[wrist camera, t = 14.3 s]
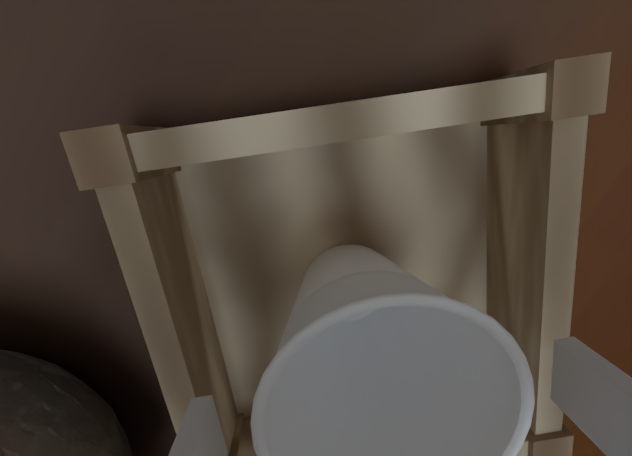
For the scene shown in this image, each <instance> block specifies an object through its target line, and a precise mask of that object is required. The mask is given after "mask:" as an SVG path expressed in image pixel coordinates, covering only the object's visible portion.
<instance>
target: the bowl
mask: <svg viewBox="0 0 632 456" xmlns="http://www.w3.org/2000/svg"><path fill="white" fill-rule="evenodd" d="M0 456H133V454H132V451H131V447H130V444H129V440H128V438H127V436H126V434H125V431H124V429H123V428H122V426H121V424H120V422H119V420H118V419H117V417H116V415H115V413H114V410H113V409H112V408H111V407H110V406H109V404H108V403H107V402H106V401H105V400H104V399H103V398H102V397H101V396H100V395H99V394H97V393H96V392H95V391H94V390H93V389H91V388H90V387H89V386H88V385H87V384H85V383H84V382H83V381H81V380H80V379H79V378H77V377H76V376H74V375H73V374H71V373H70V372H68V371H66V370H65V369H63V368H61V367H59V366H58V365H56V364H53V363H50V362H48V361H45V360H42V359H39V358H36V357H33V356H30V355H27V354H24V353H20V352H14V351H7V350H0Z"/></svg>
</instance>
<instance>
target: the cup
mask: <svg viewBox="0 0 632 456" xmlns="http://www.w3.org/2000/svg"><path fill="white" fill-rule="evenodd" d="M534 405H535V398H534V381H533V377H532V374H531V371H530V368H529V365H528V362H527V359H526V356H525V355H524V353H523V352H522V350H521V348H520V347H519V345H518V344H517V342H516V341H515V339H514V337H513V336H512V335H511V334H510V333H509V332H508V331H507V330H506V329H505V328H504V327H503V326H501V325H500V324H499V323H498V322H497V321H496V320H495V319H494V318H493V317H491V316H489V315H487V314H486V313H484V312H482V311H481V310H479V309H477V308H475V307H474V306H472V305H470V304H467V303H464V302H461V301H458V300H455V299H452V298H449V297H447V296H446V295H444V294H442V293H441V292H439V291H438V290H436V289H435V288H433V287H431V286H430V285H428V284H426V283H425V282H423V281H422V280H420V279H418V278H417V277H415V276H414V275H412V274H411V273H409V272H408V271H406V270H404V269H403V268H401V267H400V266H398V265H397V264H395V263H393V262H392V261H390V260H389V259H387V258H386V257H384V256H382V255H381V254H379V253H378V252H376V251H374V250H373V249H371V248H368V247H365V246H362V245H354V244H350V245H341V246H337V247H333V248H331V249H329V250H327V251H325V252H323V253H322V254H321V255H319V256H318V257H317V258H316V259H315V260H314V261H313V262H312V263H311V264H310V266H309V267H308V269H307V271H306V273H305V276H304V278H303V281H302V284H301V286H300V289H299V292H298V295H297V298H296V301H295V304H294V306H293V309H292V312H291V315H290V318H289V320H288V323H287V326H286V329H285V331H284V334H283V336H282V339H281V342H280V345H279V347H278V350H277V353H276V355H275V356H274V358H273V359H272V361H271V362H270V364H269V365H268V367H267V368H266V370H265V371H264V373H263V375H262V377H261V380H260V382H259V385H258V388H257V390H256V393H255V395H254V398H253V406H252V414H251V421H250V424H251V433H252V441H253V447H254V450H255V452H256V455H257V456H516V455H517V454H518V452H519V451H520V449H521V448H522V446H523V443H524V441H525V438H526V436H527V434H528V431H529V429H530V426H531V422H532V416H533V410H534Z"/></svg>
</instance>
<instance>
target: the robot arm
mask: <svg viewBox="0 0 632 456" xmlns="http://www.w3.org/2000/svg"><path fill="white" fill-rule="evenodd" d="M550 399H551V400H552V401H553V402H554V403H555V404H556V405H557V406H558V407H559V408H560V409H561V410H562V411H563V412H564V413H565V414H566V415H567V416H568V417H569V418H570V419H571V420H572V421H573V422H574V423H575V424H576V425H577V426H578V427H579V428H580V429H581V430H582V431H583V432H584V433H585V434H586V435H587V436H588V437H589V438H590V439H591V441H592V442H593V443H594V444H595V445H596V446H597V447H598V448H599V449H600V450H601V451H602V452H603V453H604V454H605V455H606V456H632V378H631V377H630V376H628V375H627V374H626V373H624V372H623V371H621V370H620V369H619V368H617V367H616V366H614V365H613V364H612V363H610V362H609V361H607V360H606V359H605V358H603V357H602V356H600V355H599V354H597V353H596V352H595V351H593V350H592V349H590V348H589V347H588V346H586V345H585V344H583V343H582V342H581V341H579V340H578V339H576V338H575V337H568V338H562V339H556V340H554V349H553V364H552V379H551V394H550ZM227 453H228V450H227V446H226V443H225V439H224V436H223V432H222V429H221V425H220V421H219V418H218V414H217V411H216V407H215V404H214V400H213V396H212V395H208V396H202V397H196V398H192V399H191V401H190V404H189V406H188V408H187V411H186V413H185V416H184V418H183V421H182V423H181V426H180V428H179V431H178V433H177V435H176V438H175V440H174V443H173V445H172V448H171V450H170V453H169V455H168V456H227Z"/></svg>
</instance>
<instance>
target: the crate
mask: <svg viewBox="0 0 632 456" xmlns="http://www.w3.org/2000/svg"><path fill="white" fill-rule="evenodd" d="M610 61H611V52H607V53H600V54H593V55H586V56H579V57H572V58H566V59H559V60H553V61H550V62H547V63H544V64H540V65H537V66H534V67H530V68H527V69H524V70H521V71H517V72H514V73H511V74H508V75H504V76H501V77H498V78H495V79H491V80H488V81H485V82H479V83H472V84H465V85H459V86H452V87H445V88H438V89H431V90H424V91H418V92H411V93H404V94H397V95H390V96H383V97H377V98H370V99H363V100H356V101H349V102H342V103H336V104H329V105H322V106H315V107H308V108H302V109H295V110H288V111H281V112H274V113H267V114H261V115H254V116H247V117H240V118H233V119H226V120H220V121H213V122H206V123H199V124H192V125H186V126H179V127H172V128H163V127H151V126H139V125H127V124H114V125H107V126H100V127H93V128H86V129H79V130H72V131H66V132H59V134H60V137H61V140H62V143H63V145H64V148H65V151H66V154H67V157H68V160H69V163H70V166H71V169H72V171H73V174H74V177H75V180H76V183H77V186H78V189H79V191H84V190H90V189H95V191H96V194H97V197H98V200H99V203H100V206H101V209H102V212H103V215H104V218H105V221H106V224H107V227H108V230H109V233H110V236H111V239H112V242H113V245H114V248H115V251H116V254H117V257H118V260H119V263H120V267H121V270H122V273H123V276H124V279H125V282H126V285H127V288H128V291H129V294H130V297H131V300H132V303H133V306H134V309H135V312H136V315H137V318H138V321H139V324H140V327H141V330H142V333H143V336H144V339H145V342H146V345H147V348H148V351H149V354H150V357H151V360H152V363H153V366H154V369H155V372H156V375H157V378H158V381H159V384H160V387H161V390H162V393H163V396H164V399H165V402H166V405H167V408H168V411H169V414H170V417H171V420H172V423H173V426H174V429H175V432H176V435H177V433H178V431H179V428H180V426H181V423H182V421H183V418H184V416H185V413H186V411H187V408H188V406H189V404H190V401H191V399H192V398H196V397H202V396H208V395H212V396H213V400H214V404H215V407H216V411H217V414H218V418H219V421H220V425H221V429H222V432H223V436H224V439H225V443H226V446H227V450H228V453H227V456H257V455H256V452H255V450H254V447H253V441H252V433H251V424H250V421H251V414H252V406H253V398H254V395H255V393H256V390H257V388H258V385H259V382H260V380H261V377H262V375H263V373H264V371H265V370H266V368H267V367H268V365H269V364H270V362H271V361H272V359H273V358H274V356H275V355H276V353H277V350H278V347H279V345H280V342H281V339H282V336H283V334H284V331H285V329H286V326H287V323H288V320H289V318H290V315H291V312H292V309H293V306H294V304H295V301H296V298H297V295H298V292H299V289H300V286H301V284H302V281H303V278H304V276H305V273H306V271H307V269H308V267H309V266H310V264H311V263H312V262H313V261H314V260H315V259H316V258H317V257H318V256H319V255H321V254H322V253H323V252H325V251H327V250H329V249H331V248H333V247H337V246H341V245H350V244H354V245H362V246H365V247H368V248H371V249H373V250H374V251H376V252H378V253H379V254H381V255H382V256H384V257H386V258H387V259H389V260H390V261H392V262H393V263H395V264H397V265H398V266H400V267H401V268H403V269H404V270H406V271H408V272H409V273H411V274H412V275H414V276H415V277H417V278H418V279H420V280H422V281H423V282H425V283H426V284H428V285H430V286H431V287H433V288H435V289H436V290H438V291H439V292H441V293H442V294H444V295H446V296H447V297H449V298H452V299H455V300H458V301H461V302H464V303H467V304H470V305H472V306H474V307H475V308H477V309H479V310H481V311H482V312H484V313H486V314H487V315H489V316H491V317H493V318H494V319H495V320H496V321H497V322H498V323H499V324H500V325H501V326H503V327H504V328H505V329H506V330H507V331H508V332H509V333H510V334H511V335H512V336H513V337H514V339H515V341H516V342H517V344H518V345H519V347H520V348H521V350H522V352H523V353H524V355H525V356H526V359H527V362H528V365H529V368H530V371H531V374H532V377H533V381H534V398H535V405H534V410H533V416H532V422H531V426H530V429H529V431H528V434H527V436H526V438H525V441H524V443H523V446H522V448H521V449H520V451H519V452H518V454H517V455H516V456H572V448H573V438H574V435H573V434H572V433H571V432H570V431H569V430H568V429H567V428H566V427H565V426H564V425H563V424H562V421H563V411H562V410H561V409H560V408H559V407H558V406H557V405H556V404H555V403H554V402H553V401H552V400H551V399H550V394H551V379H552V364H553V349H554V340H556V339H562V338H568V337H570V326H571V314H572V302H573V290H574V279H575V267H576V255H577V243H578V231H579V220H580V208H581V196H582V184H583V172H584V160H585V149H586V137H587V125H588V115H594V114H601V113H605V112H606V101H607V91H608V81H609V71H610Z"/></svg>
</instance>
